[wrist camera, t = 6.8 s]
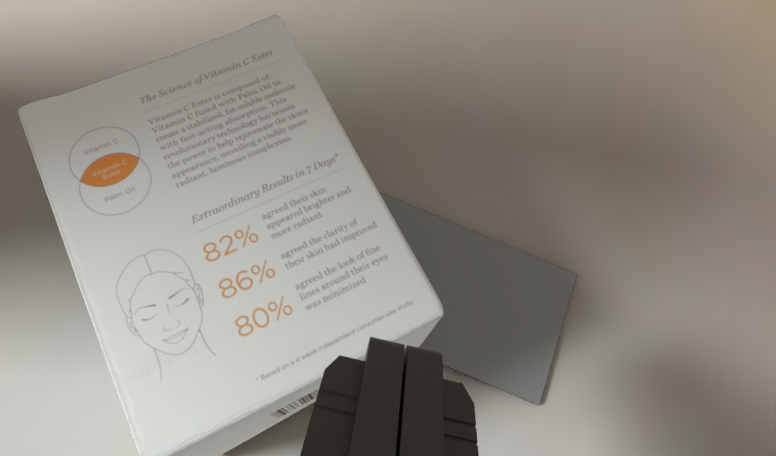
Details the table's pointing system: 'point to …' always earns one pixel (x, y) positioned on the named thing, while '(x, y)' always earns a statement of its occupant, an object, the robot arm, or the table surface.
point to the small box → (223, 237)
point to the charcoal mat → (488, 302)
